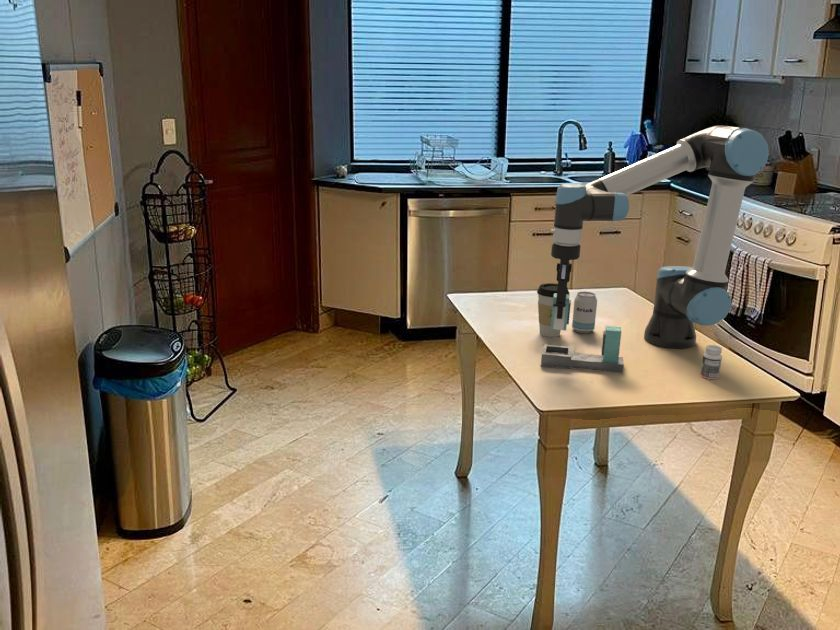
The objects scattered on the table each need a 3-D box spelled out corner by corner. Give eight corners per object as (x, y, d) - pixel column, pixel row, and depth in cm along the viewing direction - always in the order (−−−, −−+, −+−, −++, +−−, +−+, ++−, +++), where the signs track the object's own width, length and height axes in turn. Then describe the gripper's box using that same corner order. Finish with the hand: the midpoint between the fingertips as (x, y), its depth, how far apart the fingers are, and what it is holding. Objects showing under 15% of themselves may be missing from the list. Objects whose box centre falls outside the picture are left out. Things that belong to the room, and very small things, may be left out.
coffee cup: (565, 340, 240) (569, 292, 236) (532, 337, 242) (536, 289, 237) (566, 330, 249) (570, 284, 245) (534, 327, 251) (538, 281, 247)
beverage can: (571, 333, 247) (574, 295, 243) (572, 326, 253) (575, 290, 250) (593, 335, 245) (597, 298, 242) (594, 328, 252) (598, 292, 248)
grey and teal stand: (621, 364, 222) (626, 325, 219) (622, 374, 215) (627, 334, 211) (542, 356, 226) (545, 318, 223) (540, 366, 219) (544, 326, 215)
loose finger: (568, 326, 220) (571, 294, 217) (568, 330, 216) (571, 298, 213) (551, 324, 221) (554, 293, 218) (550, 328, 217) (553, 297, 214)
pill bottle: (704, 371, 218) (708, 343, 216) (721, 376, 215) (725, 347, 213) (697, 376, 215) (701, 347, 212) (715, 381, 212) (719, 351, 209)
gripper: (553, 235, 220) (546, 316, 227) (550, 248, 204) (543, 334, 211) (581, 237, 219) (573, 318, 226) (580, 251, 203) (571, 337, 210)
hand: (558, 326), depth 218 cm, fingers closed on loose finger, 4 cm apart
